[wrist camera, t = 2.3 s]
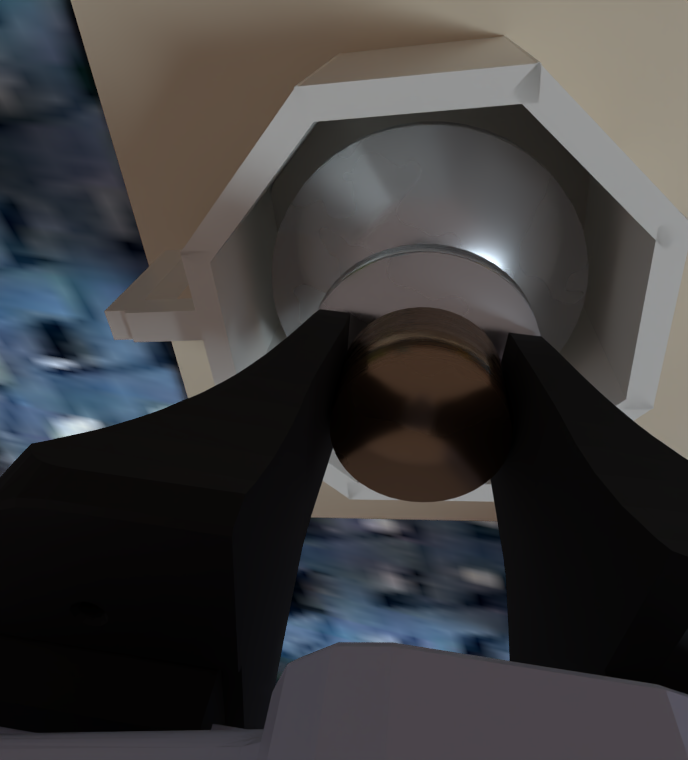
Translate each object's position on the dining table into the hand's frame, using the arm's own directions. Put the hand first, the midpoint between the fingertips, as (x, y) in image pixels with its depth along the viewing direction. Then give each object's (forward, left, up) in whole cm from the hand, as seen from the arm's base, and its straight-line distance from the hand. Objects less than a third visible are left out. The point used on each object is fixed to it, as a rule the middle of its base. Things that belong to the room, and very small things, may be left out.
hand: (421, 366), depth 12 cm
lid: (0, 0, -4) cm, 4 cm away
